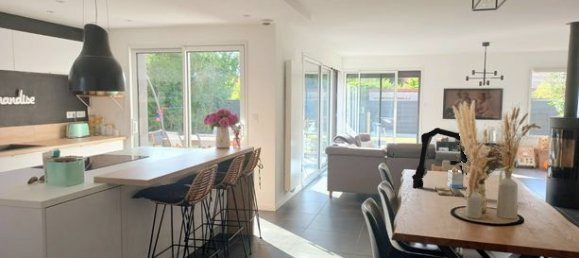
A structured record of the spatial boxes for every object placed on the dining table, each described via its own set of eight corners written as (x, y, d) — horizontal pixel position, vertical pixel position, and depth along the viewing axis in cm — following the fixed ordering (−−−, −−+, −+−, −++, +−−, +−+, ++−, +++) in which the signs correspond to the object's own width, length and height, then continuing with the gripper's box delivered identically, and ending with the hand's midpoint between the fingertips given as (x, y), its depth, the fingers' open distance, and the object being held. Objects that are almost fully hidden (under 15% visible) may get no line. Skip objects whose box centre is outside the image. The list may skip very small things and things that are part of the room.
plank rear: (436, 191, 278) (436, 189, 277) (434, 188, 284) (434, 187, 284) (450, 192, 276) (450, 190, 276) (448, 189, 282) (448, 188, 282)
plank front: (438, 194, 267) (438, 192, 267) (437, 192, 274) (437, 190, 274) (452, 195, 265) (453, 193, 265) (451, 193, 272) (451, 191, 272)
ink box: (463, 188, 288) (464, 169, 287) (451, 188, 288) (452, 169, 287) (458, 185, 297) (459, 167, 295) (447, 185, 297) (448, 167, 296)
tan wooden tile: (454, 196, 265) (454, 194, 265) (449, 189, 283) (449, 188, 283) (463, 196, 264) (463, 195, 264) (458, 190, 282) (458, 188, 281)
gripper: (452, 153, 263) (451, 177, 264) (483, 153, 259) (482, 177, 260) (449, 151, 273) (448, 174, 274) (478, 151, 270) (478, 174, 271)
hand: (464, 175), depth 270 cm, fingers closed
